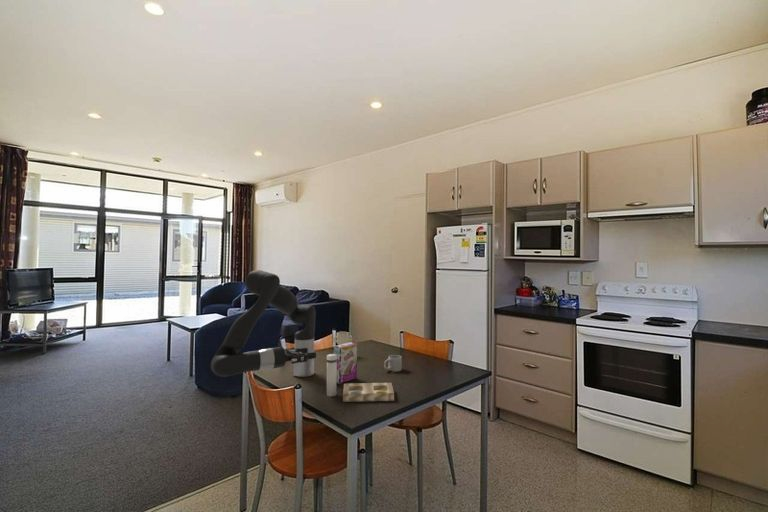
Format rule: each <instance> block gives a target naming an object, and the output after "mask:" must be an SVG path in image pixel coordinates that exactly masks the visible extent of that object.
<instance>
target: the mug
mask: <svg viewBox="0 0 768 512" xmlns="http://www.w3.org/2000/svg"><path fill="white" fill-rule="evenodd" d="M402 357H403V356H402V355H399V354H390V355H388V358H387V359H386V360H384V363H383V368H384V370H385V371H389V372H392V373H396V372H401V371H402V367H403V366H402V365H403V364H402V362H403V360H402V359H403V358H402ZM387 363H388V364H387ZM387 365H388V366H387Z"/></svg>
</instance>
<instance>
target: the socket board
mask: <svg viewBox="0 0 768 512" xmlns="http://www.w3.org/2000/svg"><path fill="white" fill-rule="evenodd" d="M390 401H391V402H392V401H393V402H394V401H395V391H394V388H393V384H392V382H361V383H360V382H359V383H358V382H357V383H354V382H351V383H350V382H349V383H348V382H347V383H346V382H344V383H343V390H342V402H343V403H344V402H345V403H346V402H348V403H349V402H390Z"/></svg>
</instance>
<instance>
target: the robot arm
mask: <svg viewBox="0 0 768 512" xmlns="http://www.w3.org/2000/svg"><path fill="white" fill-rule="evenodd" d="M245 286H246V289H247V290H248V292H250V293H251V294H253V295H256V296H259V297H258V298H257V300H256V301H255V303H254V304H253V305H252V306H251V307H250V308H249V309H247V310H246V311H245V312H244V313H243V314H241V315H240V316H238V317H237V318H236V319H235V320H234V322H233V323H232V324H231V326H230V327H229V330H228V332H227V334H226V335H225V338H224V340H223V341H222V344H221V345H220V346H219V348H218V350H217V351H216V353H215V354H214V355H213V358H212V359H211V362H210V369H211V371H212V373H214V374H215V375H216V376H217V377H221V378H222V377H223V378H224V377H225V378H226V377H231V376H235V375H239V374H242V373H246V372H247V373H248V372H255V371H267V370H271V369H272V370H274V369H278V368H284V367H285V365H286V363H287V362H289V363H291V364H293V376H294V377H298V378H299V377H301V378H305V377H310V376H313V375H314V374H315V359H316V358H317V353H316V352H315V332H316V318H317V317H316V314H317V312H316V307H315V306H314V305H311V304H298V299H297V296H296V295H295V294H294V293H293V292H291V290H289V289H287V288H286V287H284V286H281V281H280V277H279V275H277V274H274V273H271V272H267V271H264V270H260V269H255V270H252V271H250V272H248V274H247V275H246V278H245ZM269 305H271V306H272V307H273V308H275V309H276V310H278V311H279V312H281V313H282V314H284V315H286V317H288V319H290V320H291V322H293V323H294V324H296V325H297V324H298V325H305V326H304V328H303V329H301V330H298V331H296V332H295V333H294V347H288V348H284V347H283V346H277V347H268V348H262V349H258V350H252V351H246V352H243V353H239V352H240V351H241V350H243V348H244V346H245V345H246V343H247V341H248V338H249V337H250V335H251V332H252V331H253V329H254V328H255V325H256V324H257V322H258V321H259V319H260V318H261V317H262V315H263V313H265V311H266V310H267V307H268V306H269Z"/></svg>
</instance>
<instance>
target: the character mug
mask: <svg viewBox="0 0 768 512" xmlns="http://www.w3.org/2000/svg"><path fill="white" fill-rule="evenodd" d="M352 341H353V336H352V335H351V334H350V332H347V331H338V332H336V335H334V336H333V343H336V344H337V345H340V344H345V343H349V342H352Z"/></svg>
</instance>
